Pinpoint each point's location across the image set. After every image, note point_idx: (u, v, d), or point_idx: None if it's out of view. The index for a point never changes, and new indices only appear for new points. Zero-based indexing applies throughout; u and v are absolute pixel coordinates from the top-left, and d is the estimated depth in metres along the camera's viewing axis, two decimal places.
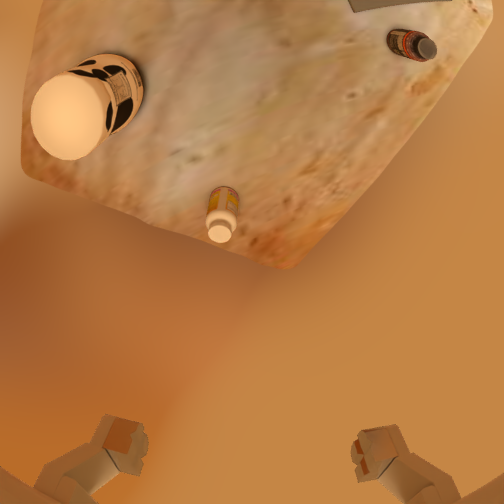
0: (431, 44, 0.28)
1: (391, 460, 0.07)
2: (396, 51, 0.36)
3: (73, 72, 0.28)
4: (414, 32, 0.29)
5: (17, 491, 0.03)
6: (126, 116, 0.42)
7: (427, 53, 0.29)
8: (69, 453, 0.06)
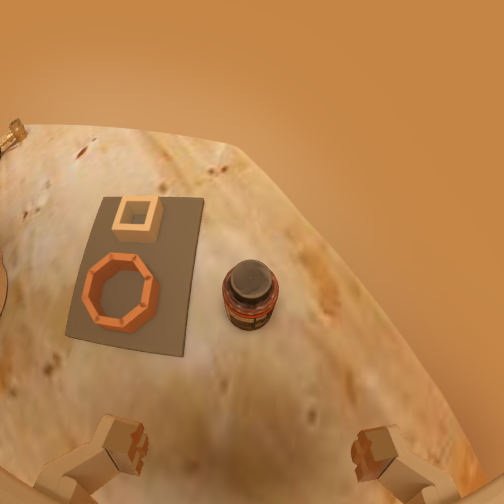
0: (245, 268, 0.27)
1: (391, 460, 0.07)
2: (259, 324, 0.33)
3: None
4: (223, 288, 0.29)
5: (17, 491, 0.03)
6: None
7: (259, 282, 0.27)
8: (69, 453, 0.06)
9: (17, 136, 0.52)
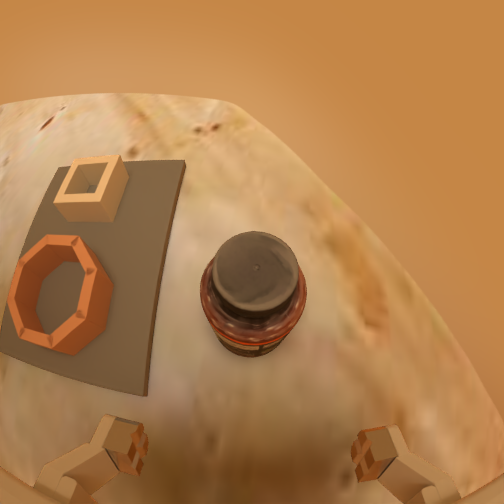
0: (243, 248, 0.13)
1: (391, 460, 0.07)
2: (267, 350, 0.19)
3: None
4: (201, 288, 0.15)
5: (17, 491, 0.03)
6: None
7: (273, 276, 0.13)
8: (69, 453, 0.06)
9: None
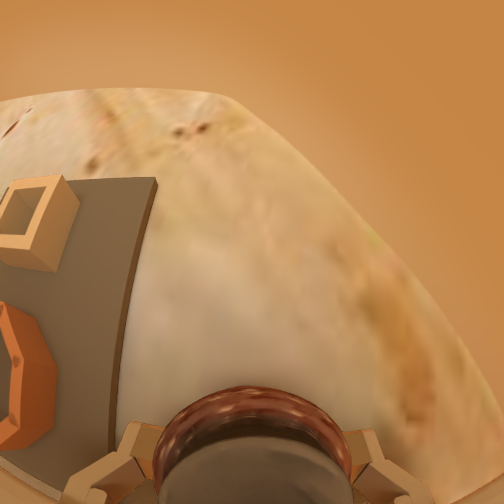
0: (226, 483, 0.04)
1: (364, 466, 0.07)
2: None
3: None
4: None
5: (17, 491, 0.03)
6: None
7: None
8: (95, 463, 0.06)
9: None
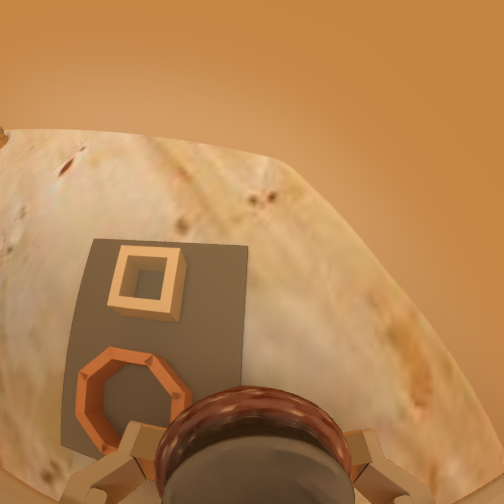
0: (230, 482, 0.04)
1: (364, 466, 0.07)
2: None
3: None
4: None
5: (17, 491, 0.03)
6: None
7: None
8: (96, 463, 0.06)
9: None
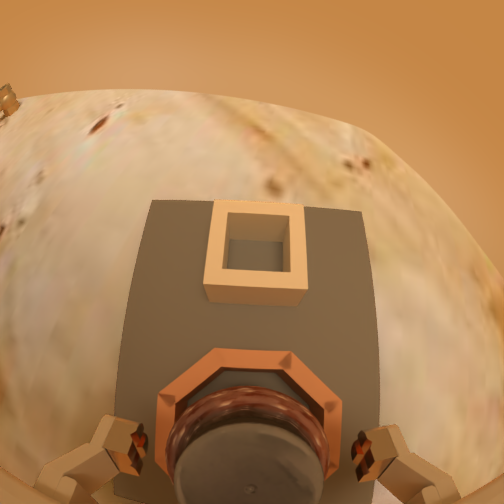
0: (225, 458, 0.06)
1: (391, 460, 0.07)
2: None
3: None
4: (167, 460, 0.07)
5: (18, 492, 0.03)
6: None
7: (280, 500, 0.05)
8: (69, 453, 0.06)
9: (5, 107, 0.32)
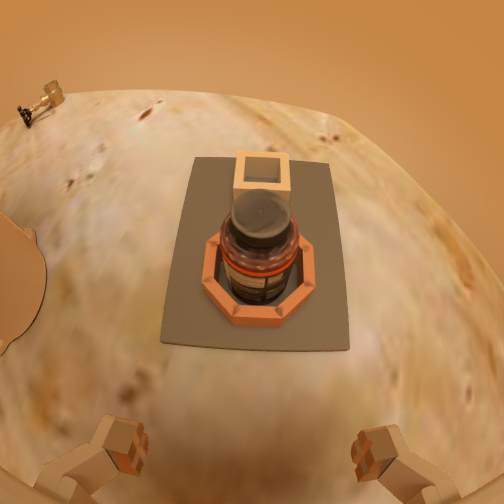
0: (252, 199, 0.19)
1: (391, 460, 0.07)
2: (271, 294, 0.24)
3: None
4: None
5: (18, 492, 0.03)
6: None
7: (273, 216, 0.18)
8: (69, 453, 0.06)
9: (53, 99, 0.47)
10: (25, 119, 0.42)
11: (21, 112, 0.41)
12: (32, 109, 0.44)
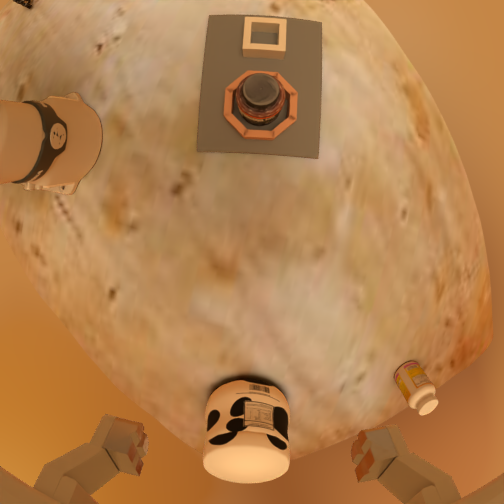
0: (255, 80, 0.27)
1: (391, 460, 0.07)
2: (268, 122, 0.35)
3: (216, 444, 0.38)
4: (236, 95, 0.29)
5: (17, 491, 0.03)
6: (285, 417, 0.46)
7: (268, 92, 0.27)
8: (69, 453, 0.06)
9: None
10: (26, 5, 0.25)
11: (20, 2, 0.23)
12: None
